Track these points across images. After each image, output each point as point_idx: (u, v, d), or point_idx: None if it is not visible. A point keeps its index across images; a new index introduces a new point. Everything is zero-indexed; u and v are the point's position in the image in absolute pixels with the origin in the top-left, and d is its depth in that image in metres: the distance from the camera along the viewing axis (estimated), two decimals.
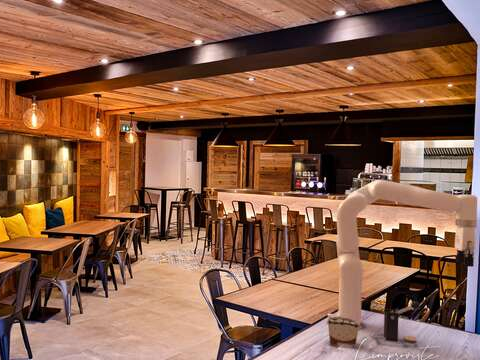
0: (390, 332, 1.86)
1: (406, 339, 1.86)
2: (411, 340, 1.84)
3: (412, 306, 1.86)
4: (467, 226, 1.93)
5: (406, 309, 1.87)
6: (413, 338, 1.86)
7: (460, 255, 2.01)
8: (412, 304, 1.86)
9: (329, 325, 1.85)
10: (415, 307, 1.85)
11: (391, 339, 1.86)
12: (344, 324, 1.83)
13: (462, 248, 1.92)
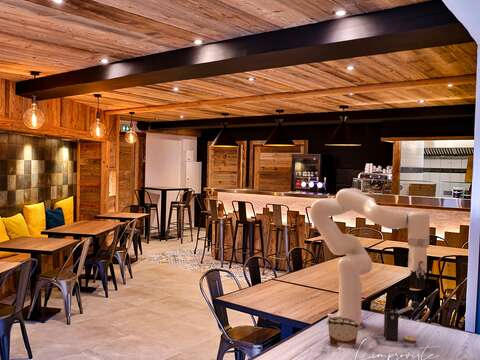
0: (390, 332, 1.86)
1: (406, 339, 1.86)
2: (411, 340, 1.84)
3: (412, 306, 1.86)
4: (419, 245, 1.83)
5: (406, 309, 1.87)
6: (413, 338, 1.86)
7: (413, 275, 1.90)
8: (412, 304, 1.86)
9: (329, 325, 1.85)
10: (415, 307, 1.85)
11: (391, 339, 1.86)
12: (344, 324, 1.83)
13: (413, 269, 1.82)
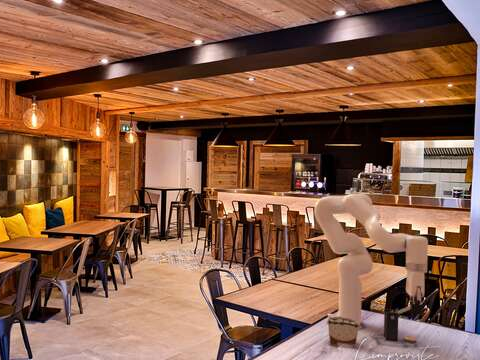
0: (390, 332, 1.86)
1: (406, 339, 1.86)
2: (411, 340, 1.84)
3: None
4: (417, 270, 1.83)
5: (406, 309, 1.87)
6: (413, 338, 1.86)
7: None
8: None
9: (329, 325, 1.85)
10: None
11: (391, 339, 1.86)
12: (344, 324, 1.83)
13: (411, 293, 1.82)
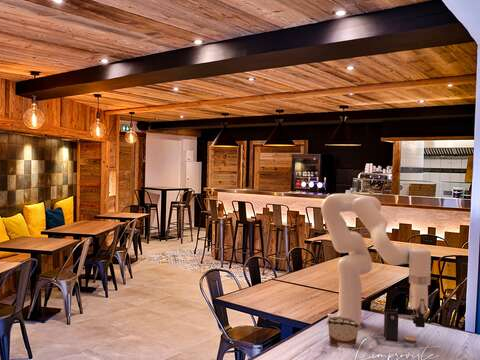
0: (390, 332, 1.86)
1: (406, 339, 1.86)
2: (411, 340, 1.84)
3: (415, 317, 1.85)
4: (420, 283, 1.82)
5: (408, 317, 1.86)
6: (413, 338, 1.86)
7: None
8: None
9: (329, 325, 1.85)
10: None
11: (391, 339, 1.86)
12: (344, 324, 1.83)
13: (415, 306, 1.82)
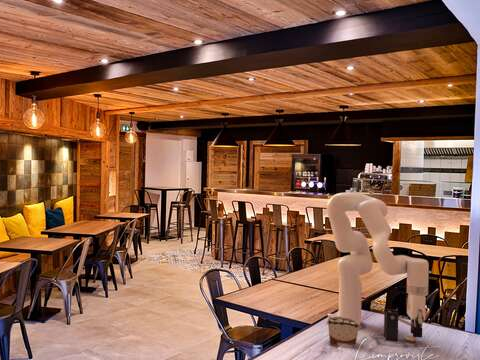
0: (390, 332, 1.86)
1: (406, 339, 1.86)
2: (411, 340, 1.84)
3: None
4: (418, 293, 1.82)
5: (407, 323, 1.86)
6: (413, 338, 1.86)
7: None
8: None
9: (329, 325, 1.85)
10: None
11: (391, 339, 1.86)
12: (344, 324, 1.83)
13: (412, 317, 1.82)
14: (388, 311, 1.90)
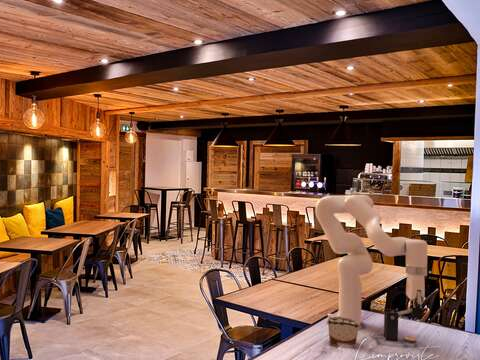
0: (390, 332, 1.86)
1: (406, 339, 1.86)
2: (411, 340, 1.84)
3: None
4: (416, 274, 1.83)
5: (407, 311, 1.86)
6: (413, 338, 1.86)
7: None
8: None
9: (329, 325, 1.85)
10: None
11: (391, 339, 1.86)
12: (344, 324, 1.83)
13: (411, 297, 1.82)
14: None
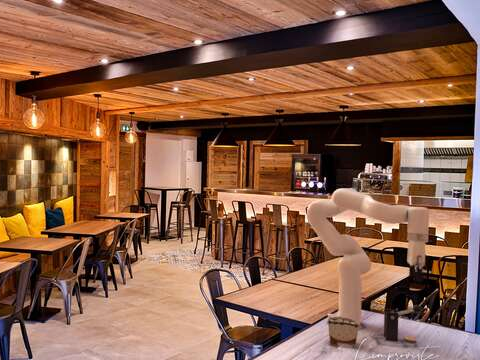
0: (390, 332, 1.86)
1: (406, 339, 1.86)
2: (411, 340, 1.84)
3: (414, 309, 1.85)
4: (417, 240, 1.85)
5: (407, 311, 1.86)
6: (413, 338, 1.86)
7: (412, 269, 1.93)
8: (414, 307, 1.85)
9: (329, 325, 1.85)
10: (417, 310, 1.85)
11: (391, 339, 1.86)
12: (344, 324, 1.83)
13: (412, 263, 1.85)
14: None
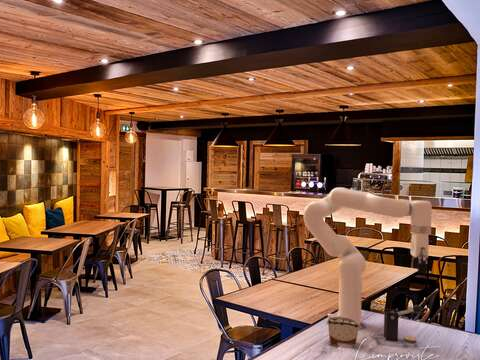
0: (390, 332, 1.86)
1: (406, 339, 1.86)
2: (411, 340, 1.84)
3: (414, 309, 1.85)
4: (421, 232, 1.91)
5: (407, 311, 1.86)
6: (413, 338, 1.86)
7: (416, 261, 1.99)
8: (414, 307, 1.85)
9: (329, 325, 1.85)
10: (417, 310, 1.85)
11: (391, 339, 1.86)
12: (344, 324, 1.83)
13: (416, 254, 1.91)
14: None
